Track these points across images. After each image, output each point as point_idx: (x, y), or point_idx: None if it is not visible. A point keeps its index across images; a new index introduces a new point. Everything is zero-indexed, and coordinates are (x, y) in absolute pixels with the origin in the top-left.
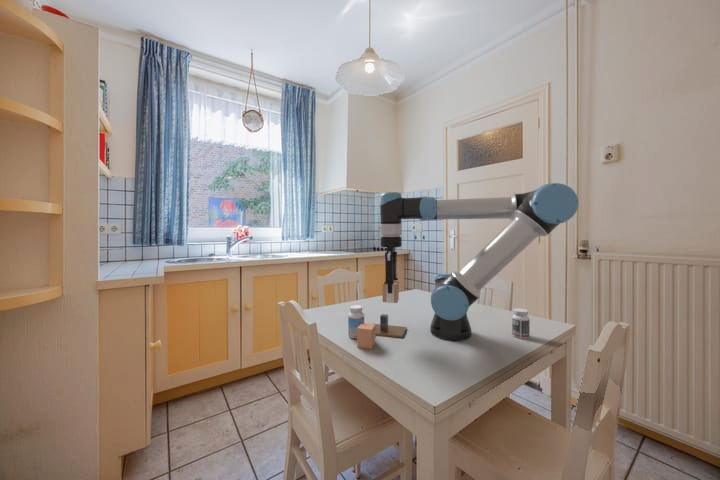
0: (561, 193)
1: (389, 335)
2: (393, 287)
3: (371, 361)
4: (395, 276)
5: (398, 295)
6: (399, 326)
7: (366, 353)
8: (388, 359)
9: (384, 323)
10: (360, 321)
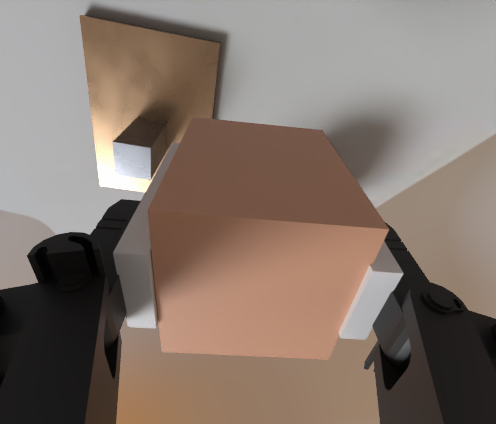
0: None
1: (212, 108)
2: (382, 244)
3: (433, 159)
4: (92, 321)
5: (199, 131)
6: (88, 59)
7: (371, 179)
8: (432, 104)
9: (159, 145)
10: None
